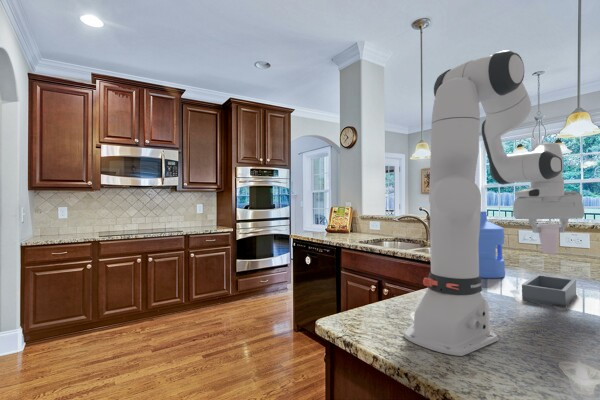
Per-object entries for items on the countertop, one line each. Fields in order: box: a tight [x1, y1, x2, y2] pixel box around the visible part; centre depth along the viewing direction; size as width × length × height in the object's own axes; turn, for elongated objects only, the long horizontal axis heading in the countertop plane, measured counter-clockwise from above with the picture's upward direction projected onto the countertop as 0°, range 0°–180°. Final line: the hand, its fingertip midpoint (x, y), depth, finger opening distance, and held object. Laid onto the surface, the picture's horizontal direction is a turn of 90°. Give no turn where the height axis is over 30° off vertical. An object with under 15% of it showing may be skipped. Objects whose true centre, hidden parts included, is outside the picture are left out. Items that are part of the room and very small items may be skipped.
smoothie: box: [536, 219, 561, 255], centre depth 105 cm, size 6×6×14 cm
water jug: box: [478, 211, 506, 279], centre depth 138 cm, size 16×16×28 cm
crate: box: [521, 274, 577, 309], centre depth 105 cm, size 20×11×5 cm, turn 132°
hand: (548, 232), depth 105 cm, fingers closed on smoothie, 6 cm apart
